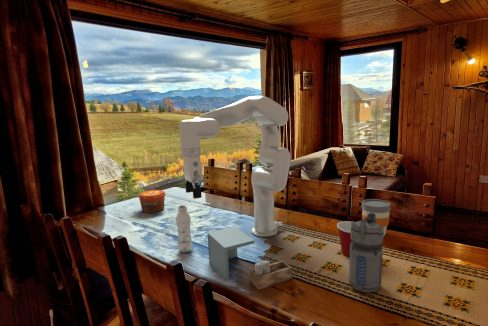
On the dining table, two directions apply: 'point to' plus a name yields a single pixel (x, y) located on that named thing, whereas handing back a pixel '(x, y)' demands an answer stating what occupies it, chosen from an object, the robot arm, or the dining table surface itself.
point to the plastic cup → (345, 236)
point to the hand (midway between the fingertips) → (193, 195)
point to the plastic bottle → (183, 230)
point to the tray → (270, 274)
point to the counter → (225, 248)
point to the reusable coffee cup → (377, 211)
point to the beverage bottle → (366, 254)
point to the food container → (152, 201)
